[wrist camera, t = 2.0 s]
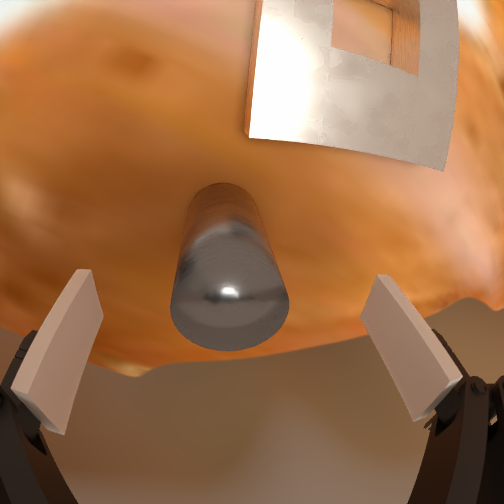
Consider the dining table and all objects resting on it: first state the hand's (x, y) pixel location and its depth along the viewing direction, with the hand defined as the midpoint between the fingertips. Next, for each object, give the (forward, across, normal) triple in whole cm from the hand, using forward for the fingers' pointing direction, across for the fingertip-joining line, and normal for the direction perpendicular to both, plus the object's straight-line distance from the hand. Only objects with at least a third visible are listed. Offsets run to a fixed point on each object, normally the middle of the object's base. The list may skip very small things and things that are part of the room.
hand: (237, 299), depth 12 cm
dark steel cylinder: (+9, 0, 0) cm, 9 cm away
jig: (+9, +8, +15) cm, 19 cm away
